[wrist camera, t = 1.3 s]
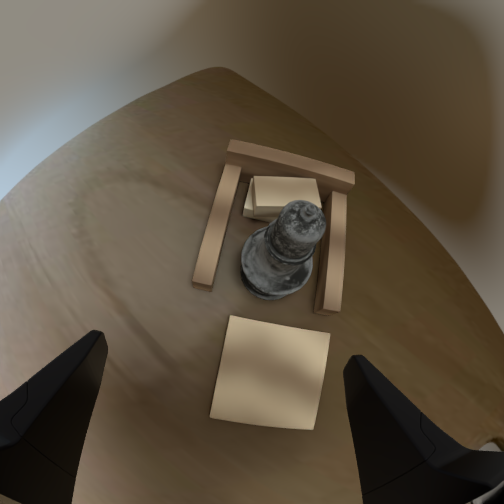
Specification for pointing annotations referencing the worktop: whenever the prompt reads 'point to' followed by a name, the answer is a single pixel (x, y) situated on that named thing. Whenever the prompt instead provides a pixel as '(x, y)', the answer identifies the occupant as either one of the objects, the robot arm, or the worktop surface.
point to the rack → (281, 165)
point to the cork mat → (270, 375)
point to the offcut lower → (249, 208)
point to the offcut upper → (281, 193)
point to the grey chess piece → (282, 251)
